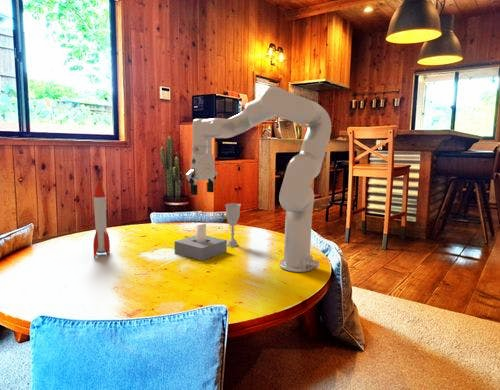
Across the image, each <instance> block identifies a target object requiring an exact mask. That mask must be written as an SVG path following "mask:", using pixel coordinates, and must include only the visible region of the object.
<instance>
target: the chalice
mask: <svg viewBox="0 0 500 390" xmlns="http://www.w3.org/2000/svg"><path fill="white" fill-rule="evenodd" d="M241 205H242V204H241V203H226V204H224V206H225V208H226V209H225V216H226V221H227V223H228V225H229V226H231V229H230V231H231V232H230V236H231V237H230V239H228V240H227V247H234V248H235V247H238V246H239V244H238V241H237V239H235V238H234V237H235V226H237V224H238V221H239V218H240V216H241V215H240V213H241V210H240V209H241Z"/></svg>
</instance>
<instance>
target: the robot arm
mask: <svg viewBox="0 0 500 390" xmlns="http://www.w3.org/2000/svg"><path fill="white" fill-rule="evenodd" d="M276 117H280V118H282V119H285V120H287V121H290V122H292V123H294V124H296V125H301V126H305V127H306V133H305V135H304V137H303V141H302V144H301V148H300V151H299V153H297V154H296V155H294V156H292V158H291V159H290V160H289V162H288V163H287V166H286V169H285V173H284V177H283V181H282V184H281V187H280V191H279V195H278V199H279V200H278V201H279V203H280V206H281V207H282V209H283V210H284V211H286V213H285V219H284V220H285V222H284V251H283V259H282V260H280V261H279V267H280V268H282V269H283V270H284V271H288V272H292V273H306V272H309V271H312V270H313V269H314V268H316V269H318V268H320V261H319V260H314V258H313V254H311V243H312V226H313V225H312V221H313V209H314V203H315V193H314V190H313V187H312V183H313V181H314V179H315V178H317V177H318V175H320V173H321V169H322V165H323V163H324V158H325V155H326V152H327V151H326V150H327V148H328V145H329V142H330V137H331V133H332V121H331V118H330V115H329V113H328V112H327V110H326V109H325V108H324V107H323V106H322V105H320V104H319V103H318V102H315V101H313V100H311V99H308V98H306V97H302V96H300V95H298V94H295V93H292V92H289V91H286V90H285V89H283V88H280V87H278V86H271V87H270V86H269V87H268V88H267V87H266V89H265V90H264V91H262V93H261V96H259V97H258V98H256V99H253V100H251V101H249V102H247V103H246V104H245V105H244V108H243V110H242V111H241V112H240V113H238V114H236V115H233V116H231V117H229V118H222V117H213V118H195V119H193V120H192V148H191V151H192V154H191V159H190V170H188V172H187V173H185V176H186V180H187V182H188V184H189V185H190V186H189V187H190V188H189V189H190V195H192V196H197V195H198V181H204V180H207V182H206V192H207V193H214V191H215V187H214V185H215V183H216V179H217V174H218V171H217V170H216V168H215V159H214V154H213V153H212V152H213V149H212V147H213V146H212V145H213V138H214V139H229V138H230V139H231V138H233V137H236V136H238V135H241V134H243V133H245V132H247V131H248V130H250V129H253V128H254V127H255V126H257V125H259V124H261V123H263V122H266V121H268V120H272V119H273V118H276Z"/></svg>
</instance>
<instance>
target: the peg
mask: <svg viewBox="0 0 500 390" xmlns="http://www.w3.org/2000/svg"><path fill="white" fill-rule="evenodd" d="M195 235H196V242H197V243H201V244H202V243H205V242H206V236H207V223H205V222H197V223H196V224H195Z"/></svg>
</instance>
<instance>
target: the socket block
mask: <svg viewBox="0 0 500 390" xmlns="http://www.w3.org/2000/svg"><path fill="white" fill-rule="evenodd" d="M227 244H228V240H227V239H223V238H219V237H216V236H215V237H214V236H210V235H206V242H205V243H202V244H201V243H197V242H196V234H195V235H193V236H189V237H185V238H181V239H178V240H175V241H174V254H176V255H180V256H183V257H187V258H190V259H194V260H197V261H202V262H203V261H205V260H208V259H211V258H214V257H216V256H219V255H221V254H222V255H223V254H224V253H227V251H228V250H227V249H228V248H227V247H228V246H227Z"/></svg>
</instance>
